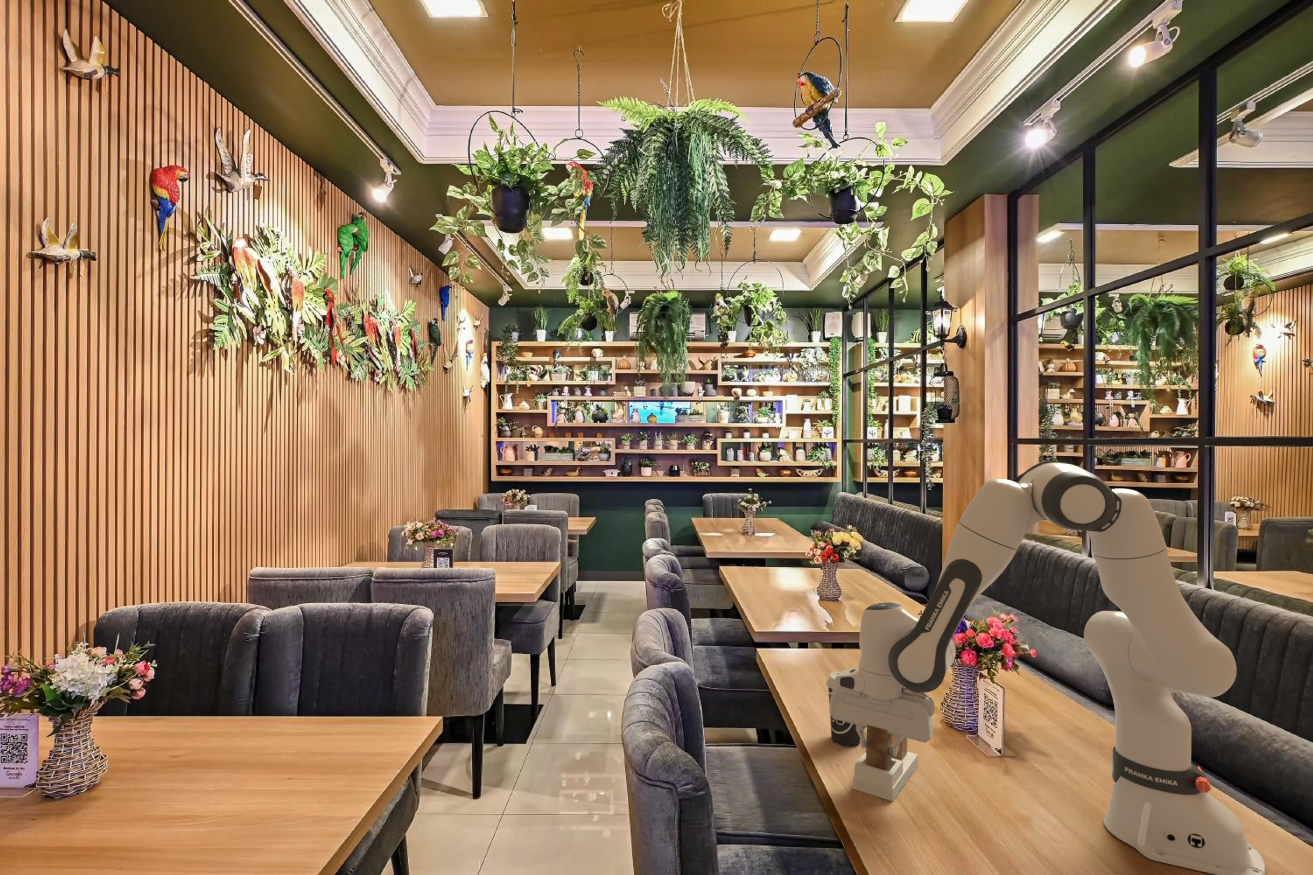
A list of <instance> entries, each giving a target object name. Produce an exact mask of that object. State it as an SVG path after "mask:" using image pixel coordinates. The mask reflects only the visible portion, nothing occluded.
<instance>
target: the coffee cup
mask: <svg viewBox="0 0 1313 875" xmlns="http://www.w3.org/2000/svg"><path fill="white" fill-rule="evenodd" d="M841 672H842V671H833V672H831V673H830V675H829V677H828V678H827V680H826V683H825V684H826V687H828V689H827V690H828V701H829V702H828V703H829V706H830V699H831V693H832V690H833V689H834V688H835V687H836V684H835V678H836V676H837V675H838V674H839V673H841ZM829 716H830V717H829V719H830V737H831V741H832V743H834V744H836V745H839V746H842V747H846V746H851V747H850V748H854V746H855V747H858V746H859V745H861V739H860V737H859V735H858V733H857V731H856V724H852V723H848V722H844V721H841V720H837V719H833V718H832V716H831V714H830V713H829ZM852 746H853V747H852Z"/></svg>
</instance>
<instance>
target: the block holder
mask: <svg viewBox="0 0 1313 875" xmlns="http://www.w3.org/2000/svg"><path fill="white" fill-rule="evenodd" d="M896 741H897V740H894V735H893V734H892V744H895V742H896ZM918 766H919V754H917V753H915V752H911V751H908V738H905V737H904V738H903V740H902V741H901V743H900V744H899V745H898V751H897V755H896V757H894V756H892V760H891V765H890V766H889V767H888V769H887V770H886V771H885V770H882V769H879V768H875V767H872V766H868V765H866V751H865V752H864V753H863V754H862V755H861V756H860V758H858V760H857V761H856V762H855V763H854V774H853V776H852V790H856V791H857V792H858V791H859V792H861V793H863V794H864V793H865V794H868V795H870V796H874V797H876V798H881V799H883V800H887V801H890V802H894V800H895V799H896V798H897V797H898V795H899V793H900V792H901V791H902V790H903V788H904V787H903V786H905V785H906V784H907V782H908V781H909V780H910V778H911V777H910V776H913V774H914V772H915V771H916V769H917V768H918ZM912 773H913V774H912ZM907 780H908V781H907ZM905 783H906V784H905ZM902 787H903V788H902ZM900 790H901V791H900Z"/></svg>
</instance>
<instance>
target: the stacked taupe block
mask: <svg viewBox="0 0 1313 875" xmlns="http://www.w3.org/2000/svg"><path fill="white" fill-rule="evenodd" d="M866 736H867V742H866V748H865V752H866V765H868V766H872V767H875V768H879V769H882V770H885V771H886V770H887V769H888V767H889V766H890V765H891V760H892V756H891V755H888V746H889V745H890V744H892V734H890V733H887V730H884V729H881V728H877V727H873V726H869V725H867V727H866Z"/></svg>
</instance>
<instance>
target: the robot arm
mask: <svg viewBox="0 0 1313 875" xmlns="http://www.w3.org/2000/svg"><path fill="white" fill-rule="evenodd" d="M1043 520H1044V521H1045V520H1046V521H1048V522H1051V523H1053V524H1054V525H1056V526H1058V527H1060V528H1063V529H1066V530H1070V531H1079V532H1083V531H1084V532H1085V531H1086V532H1087V533H1088V536H1089V538H1090V543H1091V548H1092V552H1093V556H1094V560H1095V564H1096V568H1097V572H1098V576H1099V580H1100V586H1101V588H1102V591H1103V593H1104V595H1105V596H1106V597H1107V598H1108V599H1109V601H1110V602H1112V603H1113V604H1114V605H1116V607H1117V608H1119V609H1120V610H1121V611H1117V610H1101V611H1098V612H1095V614H1093V615H1092V616H1091V617H1089V619H1088V620H1087V622H1086V623H1085V626H1084V630H1083V640H1084V644H1085V646H1086V648H1087V650H1088V652H1090V654H1091V655H1092V657H1094V658H1095V660H1096V662H1098V665H1099V666H1100V668H1101V670H1102V672H1103V674H1104V676H1105V678H1106V682H1107V684H1108V687H1109V690H1110V693H1111V696H1112V701H1113V705H1114V716H1115V718H1114V720H1115V745H1114V747H1113V748H1112V753H1111V775H1112V776H1111V778H1112V780H1113V783H1112V789H1111V795H1110V800H1109V804H1108V807H1107V810H1106V813H1105V815H1104V818H1103V825H1104V826H1105V828H1106V829H1107V831H1109V833H1111V834H1112V835H1113V836H1114V837H1116V838H1117V839H1119V840H1121V841H1122V842H1124V843H1125V844H1127V845H1129V846H1131V847H1133V848H1134V849H1136V851H1138V852H1139V853H1140V854H1141V855H1143V857H1145V858H1147V859H1149V860H1152V861H1155V862H1159V863H1164V864H1168V865H1172V866H1177V867H1181V868H1186V869H1190V870H1194V871H1199V872H1203V873H1208V874H1211V875H1212V874H1213V875H1267V874H1266V873H1267V872H1266V871H1267V870H1266V865H1265V861H1264V860H1263V857H1262V855H1261V854H1260V852H1259V851H1258V850H1257V849H1256V848H1255V847H1253V846H1252V844H1250V843H1248V840H1247V836H1246V833H1245V830H1244V828H1243V825H1242V824H1241V822H1240V820H1239V819H1238V817H1237V816H1236V815H1235V814H1234V813H1233V812H1232V811H1231V810H1230V809H1228V808H1227V807H1226V806H1225V805H1224V804H1222V802H1220V801H1219V800H1218V799H1216V798H1215V797H1214V796H1213V795H1212V794H1210V793H1209V792H1211V789H1212V787H1211V782H1210V781H1209V779H1207V778H1206V774H1205V772H1203V771H1202V769H1201V767H1200V766H1199V765H1198V766H1197V767H1196V766H1195V764H1192V725H1191V722H1190V719H1189V717H1188V716H1187V714H1186V713H1185V712H1184V711H1183V709H1182V708H1180V706H1179V705H1178V704H1177V703H1176V702H1175V700H1174V698H1173V697H1172V694H1171V693H1170V690H1173V691H1175V692H1178V693H1182V694H1187V695H1193V696H1197V697H1198V696H1200V697H1205V698H1215V697H1218V696H1222V695H1223V694H1224V693H1226V692H1227V691H1229V689H1231V687H1232V686H1233V685H1234V683H1235V680H1236V677H1237V673H1238V672H1237V670H1238V669H1237V663H1236V660H1235V659H1236V658H1235V657H1234V655H1233V652H1232V651H1231V650H1230V648H1229V647H1228V646H1227V645H1225V644H1224V643H1223V642H1221V641H1220V640H1219V639H1218V638H1217V637H1215V636H1214V635H1213V634H1212V633H1210V631H1209V630H1208V629H1207V628H1206V627H1205V626H1204V625H1203V623H1202V622H1201V621H1200V619H1198V617H1197V616H1196V615H1195V613H1194V612H1193V610H1192V609H1191V607H1190V606H1189V604H1188V603H1187V601H1186V600H1185V598H1184V597H1183V594H1182V593H1181V591H1180V588H1179V587H1178V583H1177V581H1176V577H1175V575H1174V570H1173V567H1172V564H1171V561H1170V556H1169V553H1168V548H1167V544H1166V541H1165V537H1164V535H1163V530H1162V528H1161V526H1160V523H1159V520H1158V517H1157V515H1156V513H1155V511H1154V509H1153V507H1152V505H1151V502H1150V501H1149V500H1148V498H1147V497H1146V496H1145V495H1144V494H1143V493H1141V492H1139V491H1137V490H1134V489H1129V488H1110V486H1109V485H1108V484H1107V483H1106V482H1104V481H1103V480H1102V478H1100V477H1099V476H1097V475H1095V474H1094V473H1092V472H1089V471H1087V470H1086V469H1084V468H1082V467H1080V466H1077V465H1074V464H1070V463H1065V462H1063V461H1058V460H1057V461H1056V460H1045V461H1041V462H1039V463H1036V464H1034V465H1032V466H1031V467H1029V468H1027V469H1026V471H1024V472H1023V473H1020V475H1017V477H1015V478H1014V479H1012V480H1010V479H1007V478H1006V479H1005V478H993V479H990V480H988V481H986V482H984V484H983V485H982V486H980V488H979V490H978V491H977V492H976V493H975V494H974V496H973V497H972V499H971V500H970V502H969V503H968V504H967V506H966V508H965V510H964V511H963V513H962V514H961V516H960V519H959V520H958V522H957V524H956V526H955V529H954V531H953V533H952V536H951V538H950V542H949V544H948V548H947V549H946V550H947V551H946V554H945V558H944V562H943V564H942V569H941V572H940V576H939V578H938V580H937V581H938V582H937V584H936V587H935V588H934V591H933V592H932V594H931V596H930V598H929V600H928V602H927V603H926V606H925V608H924V609H923V611H922V613H921V615H920V617H919V618H918V617H916V616H915V615H913V614H912V613H910V612H909V611H907V610H906V608H904V607H903V606H902V605H901V604H899V603H895V602H878V603H873V604H872V605H869V606H867V607H866V608H865V609H864V610H863V612H862V615H861V621H860V629H859V648H860V658H859V659H860V660H859V662H858V667H856V668H855V667H854V668H846V669H844V670H842V671H840V672H841V673H839V674H838V675H837V676H836V678H835V684H836V687H835V688H834V689H833V690H832V693H831V699H830V705H829V715H830V714H831V716H832V718H833V719H837V720H841V721H844V722H848V723H852V724H856V731H857V733H858V735H859V737H860V747H861V748H862V749H866V742H867V733H866V732H865V729H867V725H869V726H873V727H877V728H881V729H884V730H887V733H890V734H893V735H894V740H897V741H896V742H895V744H890V745H889V746H888V755H891V756H894V757H896V755H897V751H898V745H899V744H900V743H901V741H902V740H903V738H904V737H905V738H907V739H909V740H913V741H916V742H920V743H925V744H926V743H928V742H929V741H931V739H932V738H933V736H934V721H933V716H934V713H935V702H934V700H933V698H932V697H931V695H930V696H929V695H928V694H927V693H930V692H933V691H935V690H937V689H938V688H939V687H941V684H942V683H943V682H944V679H945V676H946V674H947V673H948V672H949V669H950V668H951V666H952V664H954V661H955V659H956V655H957V647H956V644H955V641H954V640H953V637H954V636H955V633H956V632H957V629H958V628H959V626H960V624H961V623H962V620H963V619H964V616H965V614H966V613H967V611H968V609H969V608H970V607H971V605H972V604H973V602H974V601H975V600H976V599H977V598H978V597H979V596H980V595H981V594H982V593H983V592H985V590H987V588H989V586H991V585H992V584H993V583H994V582H995V581H996V580H997V579H998V578H999V577H1000V576H1001V574H1002V573H1004V571H1005V569H1007V567H1008V565H1009V564H1010V562H1011V561H1012V560H1013V558H1014V557H1015V555H1016V553H1017V552H1018V549H1019V547H1020V544H1021V543H1022V541H1023V539H1024V536H1025V534H1027V532H1028V531H1029V530H1030V529H1031V528H1032V527H1033V526H1034V525H1036V524H1037V523H1039V522H1041V521H1043ZM1169 689H1170V690H1169Z"/></svg>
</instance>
